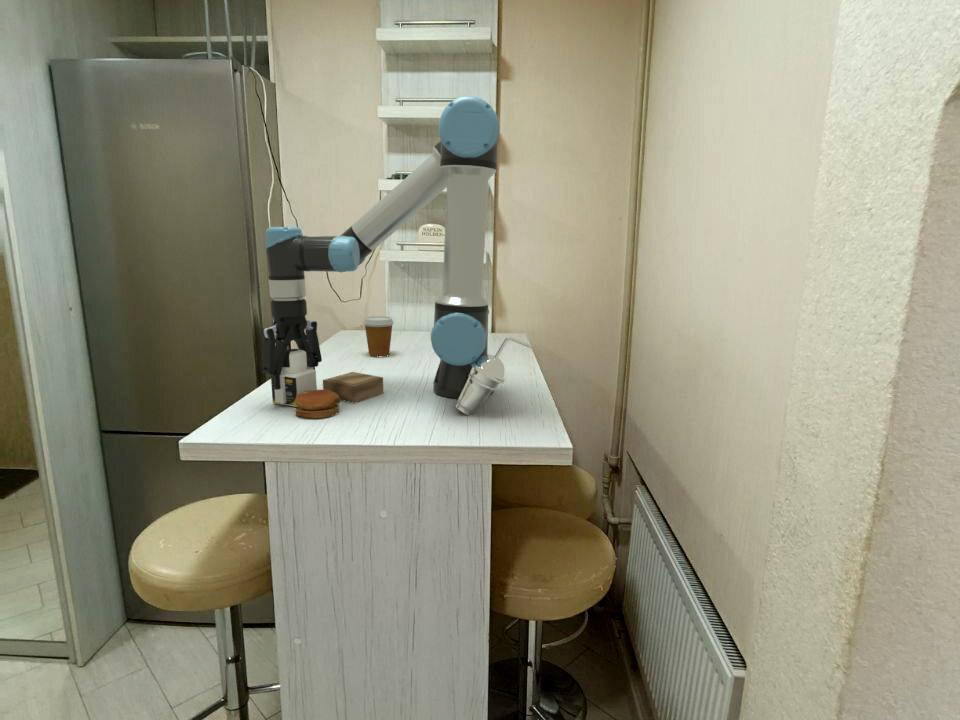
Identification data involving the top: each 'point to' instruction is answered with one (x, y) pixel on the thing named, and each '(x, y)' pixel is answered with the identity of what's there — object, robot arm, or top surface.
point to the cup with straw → (483, 380)
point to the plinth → (354, 386)
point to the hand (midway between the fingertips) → (295, 397)
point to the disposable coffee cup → (378, 335)
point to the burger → (317, 403)
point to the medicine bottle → (296, 376)
